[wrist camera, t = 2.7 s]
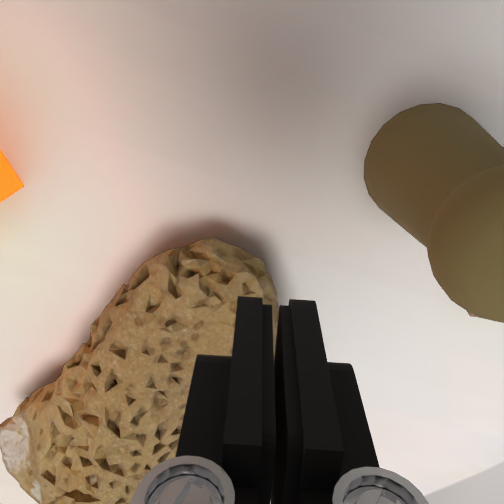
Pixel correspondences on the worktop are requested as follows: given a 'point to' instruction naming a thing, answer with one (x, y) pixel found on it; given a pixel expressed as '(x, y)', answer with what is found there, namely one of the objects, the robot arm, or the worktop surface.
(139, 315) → the sponge
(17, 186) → the orange juice
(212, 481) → the robot arm
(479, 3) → the worktop surface
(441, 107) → the cork
